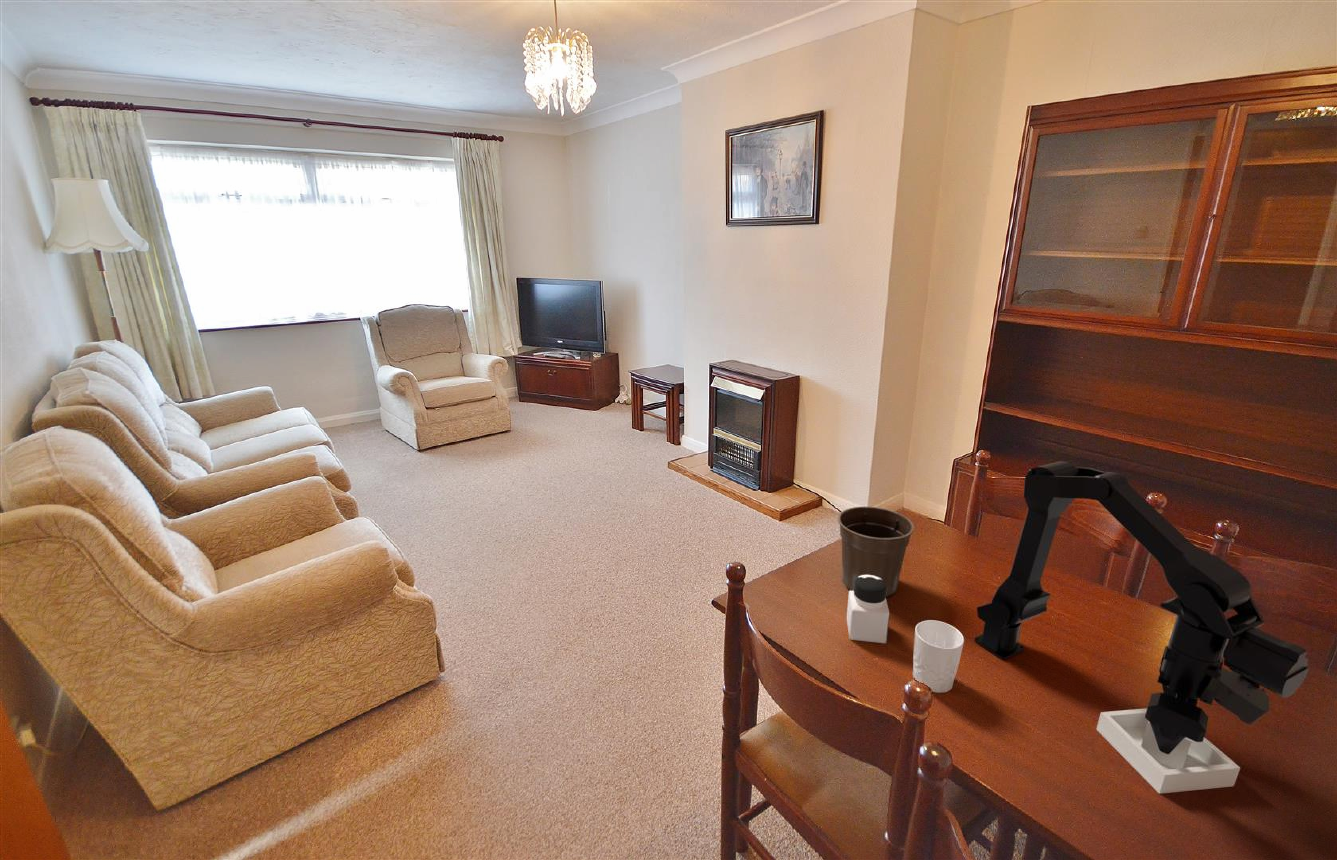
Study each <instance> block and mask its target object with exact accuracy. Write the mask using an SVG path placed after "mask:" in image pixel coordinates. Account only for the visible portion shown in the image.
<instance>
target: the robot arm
mask: <svg viewBox="0 0 1337 860" xmlns="http://www.w3.org/2000/svg"><path fill="white" fill-rule="evenodd" d="M1023 498H1024V501H1025V504H1026V506H1027V512H1026V517H1025V519H1024V523H1023V525H1022V526H1023V527H1022V530H1021V534H1020V538H1019V541H1018V544H1017V548H1016V552H1015V555H1014V559H1013V563H1012V566H1011V569H1010V574H1009V575H1008V576H1007V578H1005V580H1004V581H1003V582H1002V583H1001V584H999V586H998V587H997V589H996V591H995V592H994V595H993V596H992V599H991V601H990V602H989V603H985V604H983V605H980V606H976V612H977V618H978V619H979V620H981V621H982V622H984V625H983V629H982V630H983V631H982V634H980V635H977V636H975V637H974V638H973V641H974V642H975V643H977V644H978V645H980V646H981V647H983V648H984V649H986V650H987V651H989V652H990V653H992V654H993V655H995V656H996V657H998V659H1001V660H1007V659H1008V658H1010V657H1011V658H1012V657H1013V656H1015V655H1017V654H1020V653H1022V652H1024V651H1025V647H1024V645H1021V644H1020V643H1018V642H1019V638H1020V633H1021V628H1022V622H1026V621H1029V620H1031V619H1033V618H1035V617H1038V616H1040V615H1041V614H1042V613H1046V612H1047V611H1048V609H1047V605H1048V604H1047V603H1048V601H1049V600H1050V598H1051V594H1050V593H1049V592H1046V591H1044V588H1043V586H1042V583H1041V580H1042V577H1043V574H1044V569H1045V567H1046V564H1047V560H1048V557H1049V554H1050V550H1051V548H1052V544H1053V541H1054V539H1055V534H1056V531H1057V528H1058V526H1059V521H1060V519H1061V515H1062V514H1063V513H1064V512H1065V511H1066V510H1067V508H1069V506H1070V505H1072V503H1073V502H1074V501H1075V500H1076V499H1087V500H1091V501H1092V500H1095V501H1097V502H1098V503H1099V504H1100V505H1101V506H1102V507H1103V508H1104V509H1105V510H1106V511H1107V512H1108V514H1110V515H1111V516H1112V517H1113V519H1115V520H1116V521H1117V522H1118V523H1119V524H1120V525H1121V526H1122V527H1123V528H1124V530H1126V531H1127V532H1128V533H1129V534H1130V535H1131V536H1132V537H1133V538H1134V539H1135V540H1136V541H1137V542H1138V543H1139V544H1140V545H1141V546H1142V547H1143V548H1144V549H1145V550H1146V551H1147V552H1148V553H1149V554H1150V555H1151V556H1152V557H1153V558H1154V559H1155V560H1156V561H1157V563H1158V565H1160V567H1161V569H1162V571H1163V574H1164V577H1165V580H1166V583H1167V585H1168V586H1169V587H1170V588H1171V590H1172V591H1173V593H1174V594H1175V595H1176V597H1172V598H1170V599H1167V600H1165V601H1162V602H1161V603H1160V604H1159V605H1160V607H1161V608H1162V609H1164V610H1166V611H1167V612H1170V613H1173V614H1174V615H1176V618H1175V621H1174V623H1173V624H1174V625H1173V628H1172V631H1171V633H1170V638H1169V642H1168V645H1167V646H1164V650H1163V654H1162V658H1161V661H1160V666H1159V668H1158V669H1159V675H1158V678H1157V682H1156V683H1159V684H1161V687H1162V692H1161V691H1159V692H1156V693H1155V692H1154V693H1151V695H1150V698H1149V701H1148V705H1147V707H1146V708H1147V711H1146V715H1145V718H1146V719H1147V720H1148V721H1149V722H1150V724H1151V727H1152V730H1153V733H1154V735H1155V738H1156V742H1157V745H1158V748H1159V750H1160V751H1161V752H1163V753H1165V754H1170V753H1171V752H1172V751H1173V750H1174V749H1175V747H1176V746H1177V745H1178V744H1179V743H1180V742H1181V741H1182V740H1183V739H1184V738H1188V739H1191V740H1193V741H1195V742H1203V739H1204V737H1205V736H1206V732H1207V730H1208V729H1207V728H1208V723H1209V716H1208V715H1207V714H1206V712H1205V711H1204V710H1203V708H1201V707H1199V706H1197V704H1198V701H1200V702H1202V703H1204V704H1207V705H1210V706H1212V705H1213V703H1214V701H1215V702H1216V703H1217V704H1219V706H1221V707H1222V708H1224V709H1226V710H1227V711H1229V712H1230V713H1232V714H1234V715H1235V716H1236V717H1237V718H1239V720H1240V721H1242V722H1243V723H1245V724H1247V725H1252V724H1254V723H1255V722H1257V721H1258V720H1259V719H1261V718H1262V717H1263V716H1265V715H1266V714H1267V713H1269V712H1270V699H1271V698H1270V697H1269V695H1268V694H1267V690H1268V691H1271V692H1272V693H1275V694H1276V695H1278V696H1280V697H1282V698H1284V699H1287V698H1290V697H1292V695H1294V694H1295V693H1296V691H1298V689H1299V688H1300V687H1301V685H1302V684H1303V682H1304V680H1305V679H1306V677H1307V676H1308V672H1309V671H1310V668H1309V667H1308V664H1309V660H1308V658H1306V656H1307V653H1308V651H1307V649H1306V648H1304V647H1301V646H1300V645H1297V644H1295V643H1292V642H1288V641H1285V640H1283V639H1281V638H1278V637H1277V636H1275V635H1272V634H1270V633H1267V632H1265V631H1263V630H1261V629H1259V627H1261V626H1263V625H1265V620H1264V618H1263V616H1262V615H1261V613H1260V611H1259V609H1258V607H1257V605H1256V603H1255V601H1254V600H1253V599H1254V598H1253V597H1252V595H1251V588H1252V585H1251V584H1250V582H1249V580H1248V579H1247V578H1246V576H1244V575H1243V574H1242V573H1241V572H1240V571H1238V570H1237V569H1236V568H1234V567H1233V566H1232V565H1230V564H1229V563H1227V562H1225V561H1224V559H1221V557H1219V556H1216V554H1215V555H1214V554H1212V553H1211V552H1208V551H1205V550H1203V549H1201V548H1199V547H1198V546H1196V545H1195V544H1194V543H1192V542H1191V541H1189V540H1188V538H1186V536H1184V535H1183V534H1182V533H1181V532H1180V531H1179V530H1178V529H1177V528H1176V527H1175V526H1174V525H1173V524H1172V523H1170V522H1169V521H1168V519H1166V517H1164V516H1163V515H1162V514H1161V513H1160V512H1159V511H1158V510H1157V509H1156V508H1155V507H1154V506H1153V505H1152V504H1150V502H1148V500H1146V499H1145V498H1144V497H1143V496H1142V495H1141V494H1140V493H1139V492H1138V491H1137V490H1136V489H1134V487H1133V486H1132V485H1130V483H1129V481H1128V479H1127V478H1126V476H1124V475H1122V473H1118V472H1114V471H1113V472H1112V471H1111V472H1110V471H1104V470H1098V469H1096V468H1091V467H1080V466H1076V465H1075V464H1074V463H1071V462H1068V461H1065V460H1064V461H1063V460H1062V461H1056V462H1052V463H1051V462H1050V463H1048V464H1044V465H1039V466H1035V467H1033V468H1031V469H1028V471H1027V472H1026V473H1025V476H1024V485H1023ZM1231 610H1233V611H1235V612H1236V614H1235V615H1233V616H1230V617H1228V618H1227V617H1226V615H1225V614H1226V613H1227V612H1230V611H1231ZM1223 665H1224V666H1225V667H1227V668H1228V669H1229V670H1230V671H1229V670H1228V669H1226V668H1225V667H1223ZM1260 686H1261V687H1263V688H1262V689H1261V688H1260Z"/></svg>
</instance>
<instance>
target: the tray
mask: <svg viewBox="0 0 1337 860" xmlns="http://www.w3.org/2000/svg"><path fill="white" fill-rule="evenodd" d="M1147 708H1148V707H1146V708H1135V709H1134V708H1133V709H1125V710H1114V711H1113V710H1112V711H1103V712H1102V711H1101V712H1100V713H1099V714H1100V715H1099V718H1098V721H1097V726H1096V731H1097V732H1098V733H1099V734H1100V735H1101V736H1102V737H1103V738H1104V739H1105V740H1106V741H1107V742H1108V743H1109V744H1110V745H1111V746H1112V747H1113V749H1115V750H1116V751H1117V752H1118V753H1119V754H1120V755H1121V756H1122V757H1123V758H1124V759H1125V761H1127V762H1128V764H1130V766H1132V768H1133V769H1135V771H1136V772H1137V773H1138V774H1140V776H1141V777H1142V778H1143V779H1144V780H1146V782H1147V783H1148V784H1149V785H1150V786H1151V787H1152V788H1153V789H1154V790H1155V791H1156V792H1157V793H1158V794H1170V793H1180V792H1188V791H1199V790H1209V789H1220V788H1229V787H1230V788H1231V787H1234V786H1235V784H1236V781H1237V779H1238V776H1239V774H1240V773H1239V772H1240V770H1241V767H1240V766H1239V765H1238V764H1237V763H1235V761H1234V760H1232V759H1231V758H1230V757H1228V756H1227V755H1226V754H1225V753H1224V752H1223V751H1221V750H1220V749H1219V748H1218V747H1216V745H1214V744H1213V743H1212V742H1211V741H1210V740H1208V738H1206V737H1205V736H1204V739H1203V742H1195V741H1193V740H1192V742H1191V745H1190V748H1189V751H1188V754H1187V757H1186V760H1185V763H1184V766H1183V768H1179V769H1171V768H1169V767H1167V766H1165V765H1163V764H1161V763H1158V762H1157V761H1156V760H1155V759H1154V758H1153V757H1152V756H1151V755H1150V754H1149V753H1148V752H1147V751H1146V750H1144V749H1143V748H1142V747H1141V744H1142V741H1143V737H1144V734H1145V730H1146V727H1147V724H1148V720H1147V719H1146V718H1145V715H1146V711H1147Z"/></svg>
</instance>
